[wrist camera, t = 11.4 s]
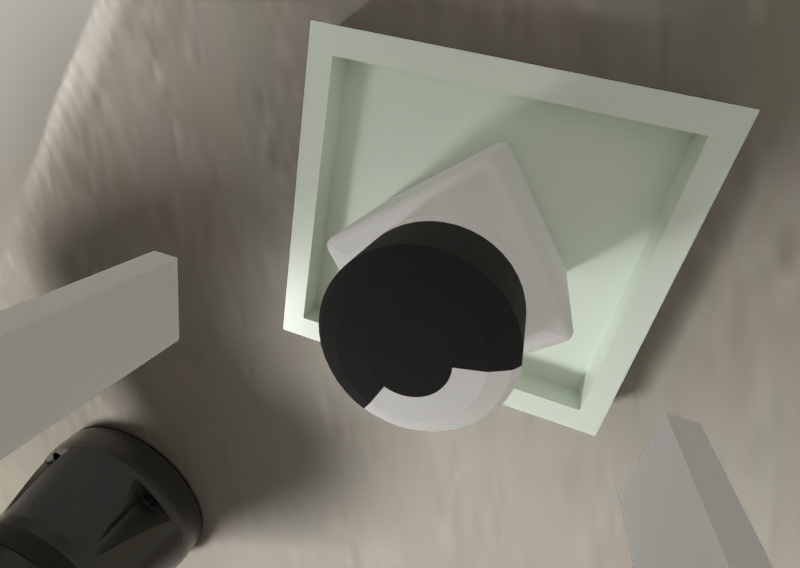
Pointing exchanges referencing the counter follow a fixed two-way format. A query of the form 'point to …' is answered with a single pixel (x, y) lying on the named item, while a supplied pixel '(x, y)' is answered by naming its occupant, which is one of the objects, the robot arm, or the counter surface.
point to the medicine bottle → (444, 296)
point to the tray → (544, 172)
